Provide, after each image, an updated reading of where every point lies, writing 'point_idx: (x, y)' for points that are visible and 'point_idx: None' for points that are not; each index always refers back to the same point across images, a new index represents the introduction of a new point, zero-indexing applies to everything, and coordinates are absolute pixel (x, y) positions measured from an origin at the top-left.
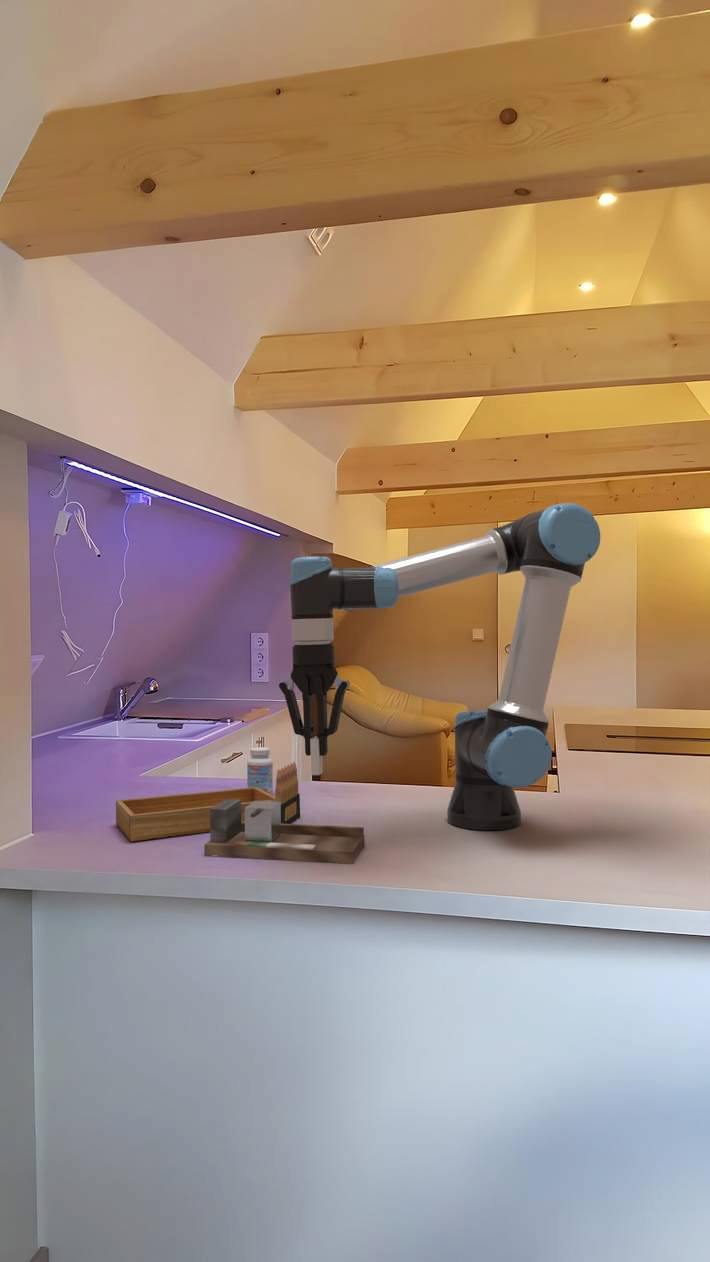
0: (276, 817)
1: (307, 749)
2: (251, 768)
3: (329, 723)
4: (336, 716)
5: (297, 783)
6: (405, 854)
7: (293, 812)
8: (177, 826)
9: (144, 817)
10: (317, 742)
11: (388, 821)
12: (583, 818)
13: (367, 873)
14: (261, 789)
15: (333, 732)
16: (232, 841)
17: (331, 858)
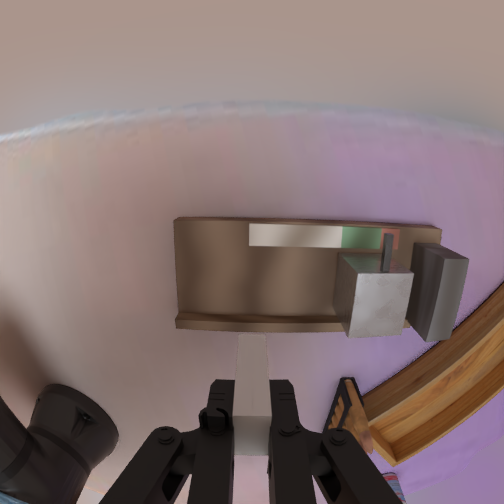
0: (345, 299)
1: (285, 394)
2: (400, 498)
3: (163, 466)
4: (117, 486)
5: None
6: (113, 281)
7: (331, 426)
8: (483, 315)
9: None
10: (237, 404)
11: (187, 427)
12: (13, 412)
13: (145, 173)
14: None
15: (154, 431)
16: (405, 253)
17: (214, 218)
